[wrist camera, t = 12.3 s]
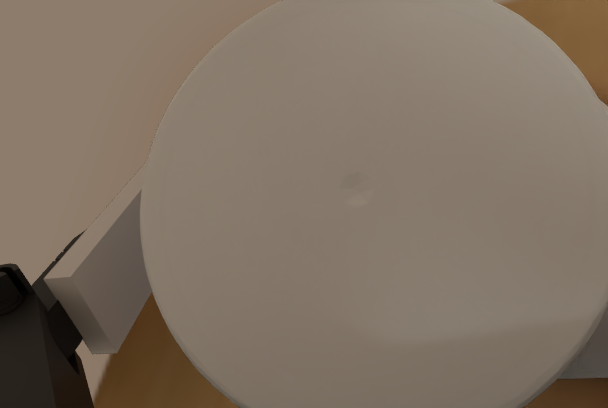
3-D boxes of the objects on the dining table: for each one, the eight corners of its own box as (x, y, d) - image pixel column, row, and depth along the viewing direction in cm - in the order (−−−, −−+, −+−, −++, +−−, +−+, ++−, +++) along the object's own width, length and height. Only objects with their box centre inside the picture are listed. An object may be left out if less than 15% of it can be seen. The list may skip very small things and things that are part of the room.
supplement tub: (256, 265, 24) (40, 216, 10) (372, 128, 24) (321, -111, 10) (402, 403, 21) (388, 607, 7) (534, 246, 21) (778, 140, 7)
